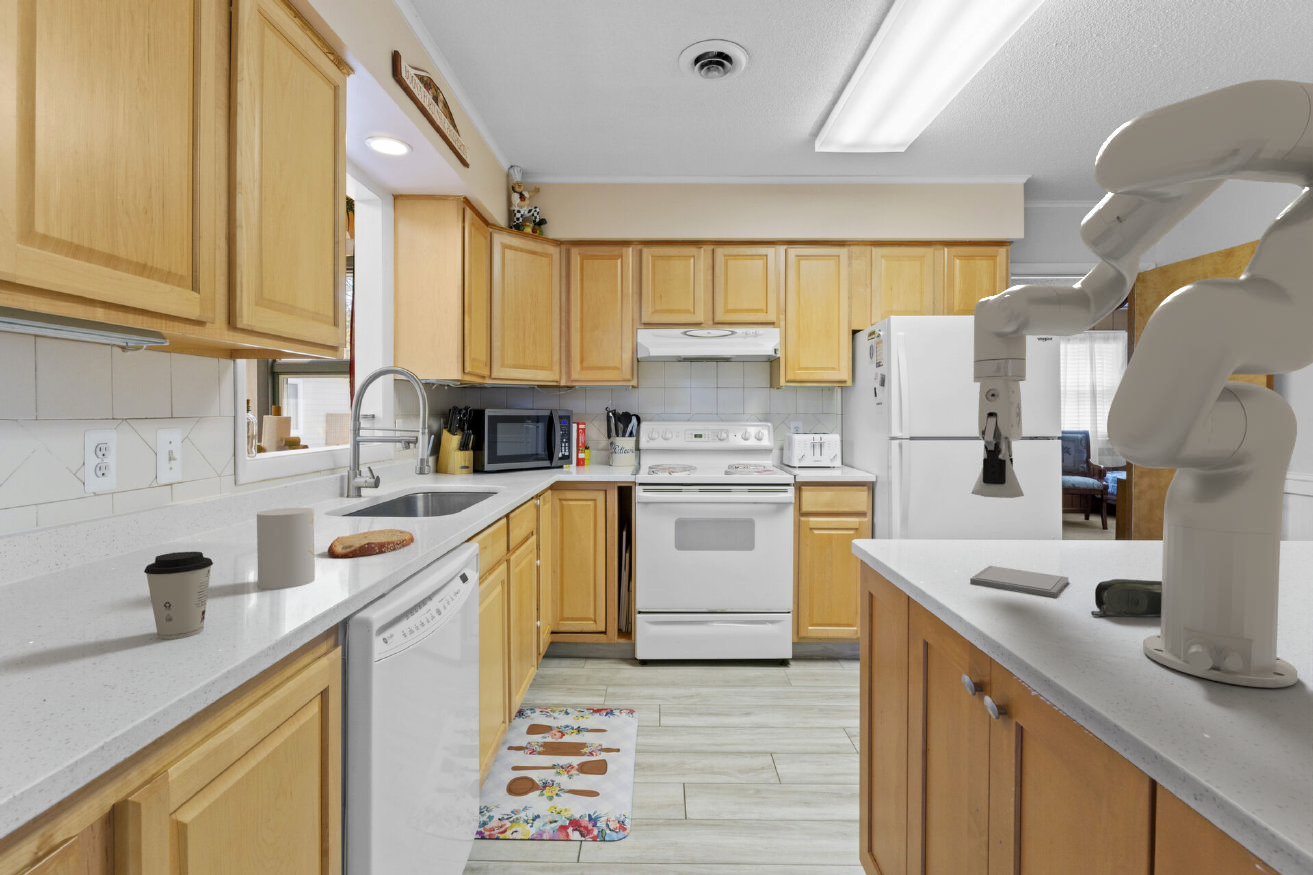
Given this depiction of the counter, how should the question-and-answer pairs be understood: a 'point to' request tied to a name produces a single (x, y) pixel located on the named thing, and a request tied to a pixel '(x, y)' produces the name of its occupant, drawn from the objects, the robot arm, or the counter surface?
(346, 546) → the slice of bread
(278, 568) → the cup
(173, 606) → the coffee cup
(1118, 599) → the dark green rounded block
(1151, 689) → the counter surface
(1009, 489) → the flask
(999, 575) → the grey square plate
